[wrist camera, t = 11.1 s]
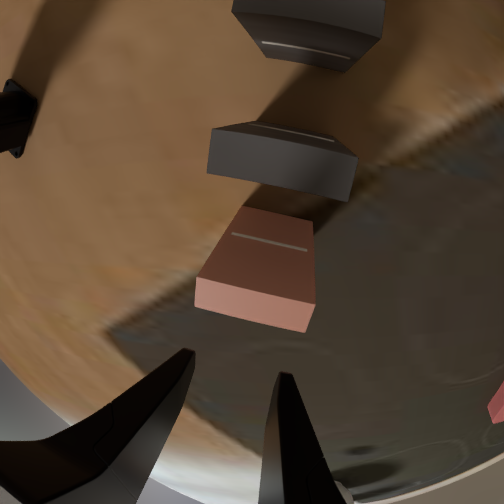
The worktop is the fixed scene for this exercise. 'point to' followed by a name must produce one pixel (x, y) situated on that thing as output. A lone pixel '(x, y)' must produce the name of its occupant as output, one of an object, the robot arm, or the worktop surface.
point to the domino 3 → (261, 270)
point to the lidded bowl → (345, 493)
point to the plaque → (497, 406)
